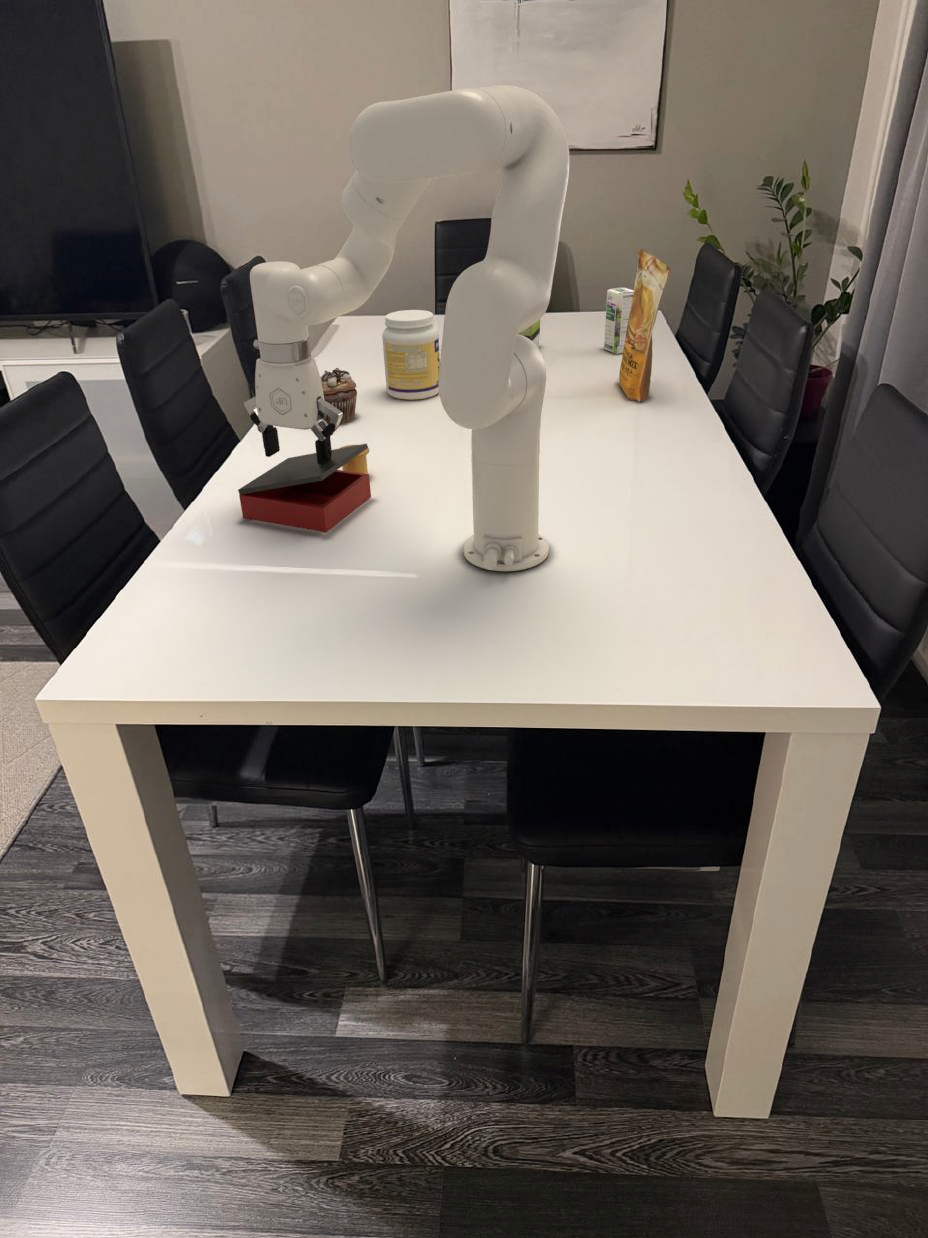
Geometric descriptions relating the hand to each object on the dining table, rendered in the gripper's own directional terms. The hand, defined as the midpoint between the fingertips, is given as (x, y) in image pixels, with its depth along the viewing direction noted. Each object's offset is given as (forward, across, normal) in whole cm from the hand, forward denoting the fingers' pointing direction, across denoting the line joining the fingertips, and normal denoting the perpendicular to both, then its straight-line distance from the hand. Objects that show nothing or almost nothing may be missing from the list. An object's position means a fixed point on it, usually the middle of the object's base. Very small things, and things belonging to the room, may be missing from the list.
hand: (298, 457), depth 147 cm
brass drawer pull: (+9, +1, +15) cm, 17 cm away
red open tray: (+9, +1, 0) cm, 9 cm away
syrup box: (+9, +23, +110) cm, 113 cm away
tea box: (+10, -4, +102) cm, 103 cm away
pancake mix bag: (+9, +35, +80) cm, 88 cm away
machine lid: (+2, +1, 0) cm, 2 cm away
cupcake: (+10, -19, +42) cm, 47 cm away
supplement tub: (+10, -11, +63) cm, 65 cm away
